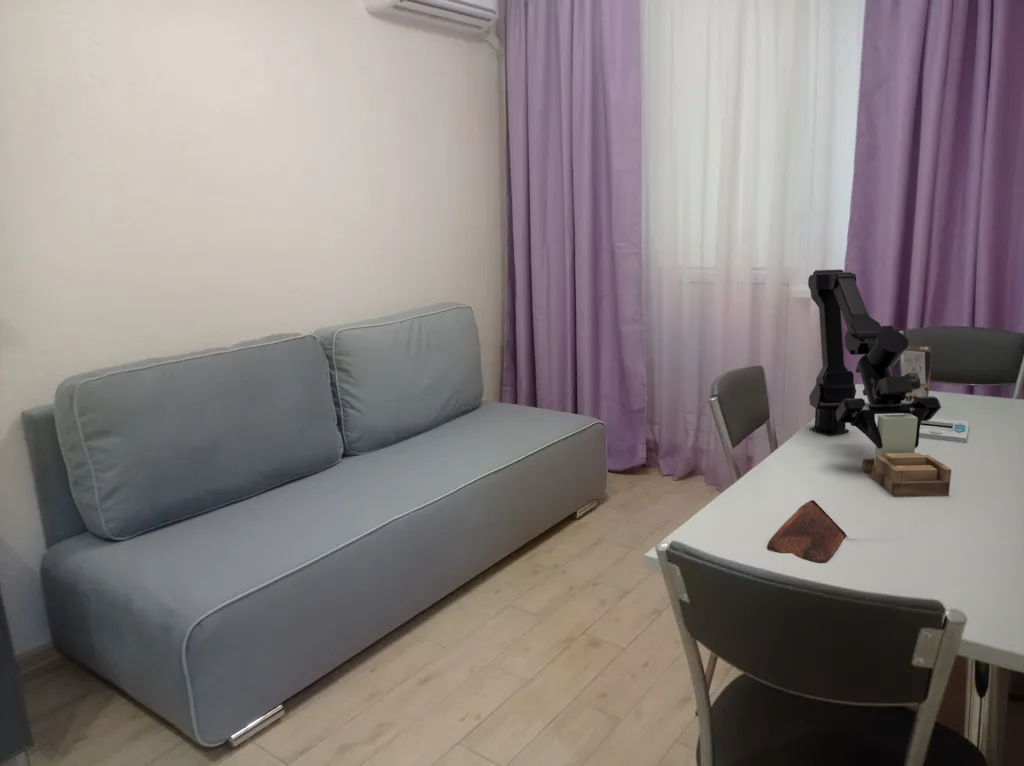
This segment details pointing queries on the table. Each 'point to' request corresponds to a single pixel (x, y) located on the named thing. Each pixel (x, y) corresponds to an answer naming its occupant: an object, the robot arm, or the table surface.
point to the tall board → (896, 434)
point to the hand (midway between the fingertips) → (898, 447)
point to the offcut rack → (892, 483)
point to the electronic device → (956, 435)
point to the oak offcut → (906, 459)
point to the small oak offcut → (918, 473)
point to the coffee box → (917, 369)
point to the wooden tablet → (808, 534)
